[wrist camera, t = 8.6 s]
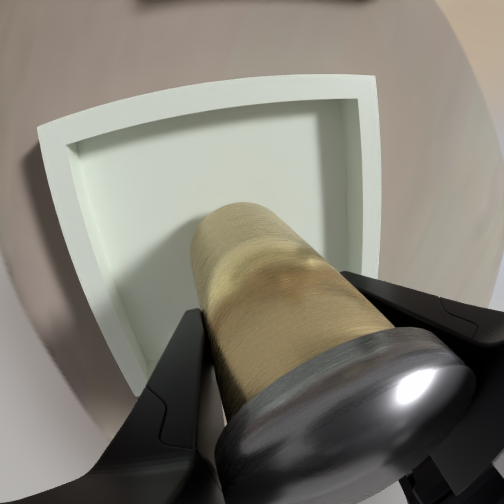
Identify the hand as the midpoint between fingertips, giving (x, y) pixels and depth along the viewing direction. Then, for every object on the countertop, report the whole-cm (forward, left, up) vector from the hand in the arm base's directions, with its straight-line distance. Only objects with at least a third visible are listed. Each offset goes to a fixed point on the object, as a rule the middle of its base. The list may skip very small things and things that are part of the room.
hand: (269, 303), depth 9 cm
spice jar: (0, 0, -4) cm, 4 cm away
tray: (0, 0, -6) cm, 6 cm away
